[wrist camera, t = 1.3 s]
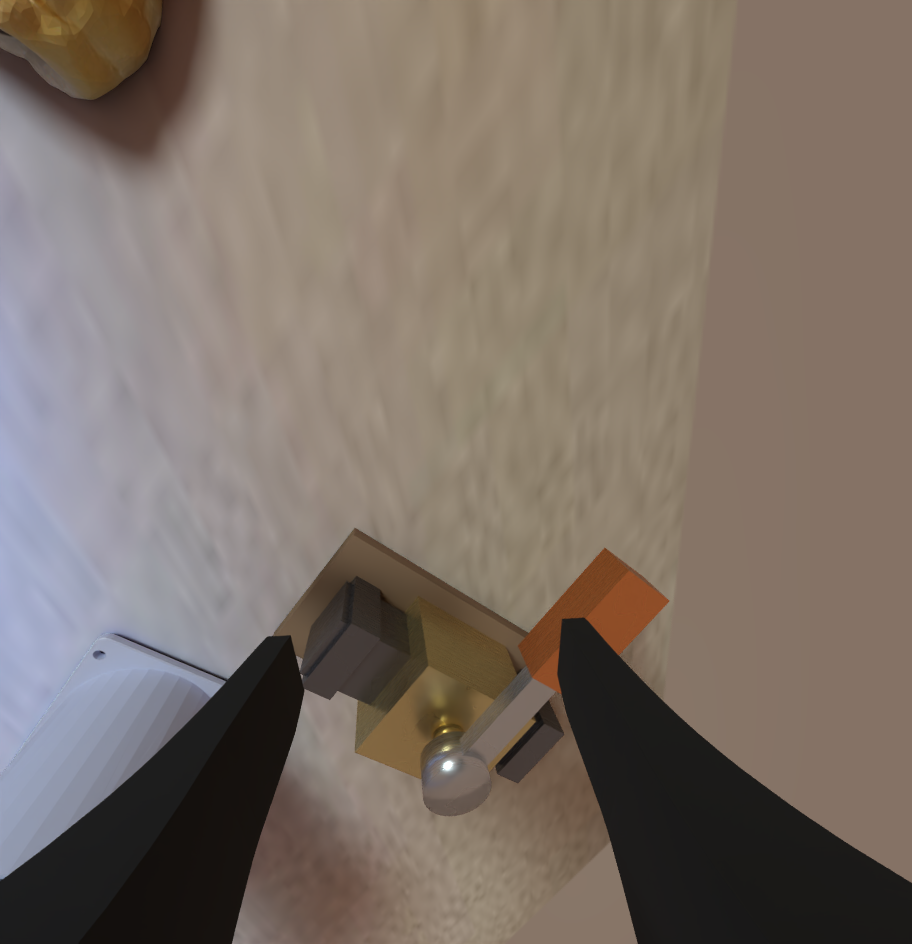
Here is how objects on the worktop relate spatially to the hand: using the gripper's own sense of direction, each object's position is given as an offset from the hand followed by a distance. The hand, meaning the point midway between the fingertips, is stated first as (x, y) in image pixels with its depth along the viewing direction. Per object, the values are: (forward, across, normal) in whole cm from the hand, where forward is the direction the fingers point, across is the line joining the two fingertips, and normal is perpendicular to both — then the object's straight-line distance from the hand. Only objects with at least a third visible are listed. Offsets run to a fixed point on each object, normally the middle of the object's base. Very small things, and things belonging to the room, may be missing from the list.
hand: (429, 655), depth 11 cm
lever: (+3, -3, +5) cm, 7 cm away
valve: (+9, 0, +9) cm, 13 cm away
